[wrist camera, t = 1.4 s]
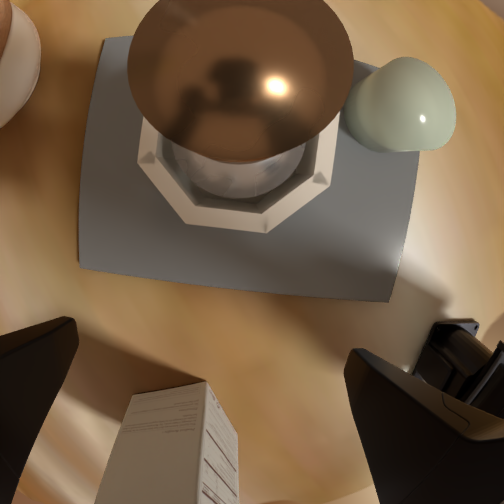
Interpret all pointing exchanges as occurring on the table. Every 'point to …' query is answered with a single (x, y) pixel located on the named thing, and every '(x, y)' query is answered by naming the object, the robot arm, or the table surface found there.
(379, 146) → the sage green dome
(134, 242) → the slate tray
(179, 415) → the supplement box
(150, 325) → the table surface
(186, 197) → the octagonal white frame
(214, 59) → the coffee tamper
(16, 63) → the lidded jar
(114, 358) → the table surface
